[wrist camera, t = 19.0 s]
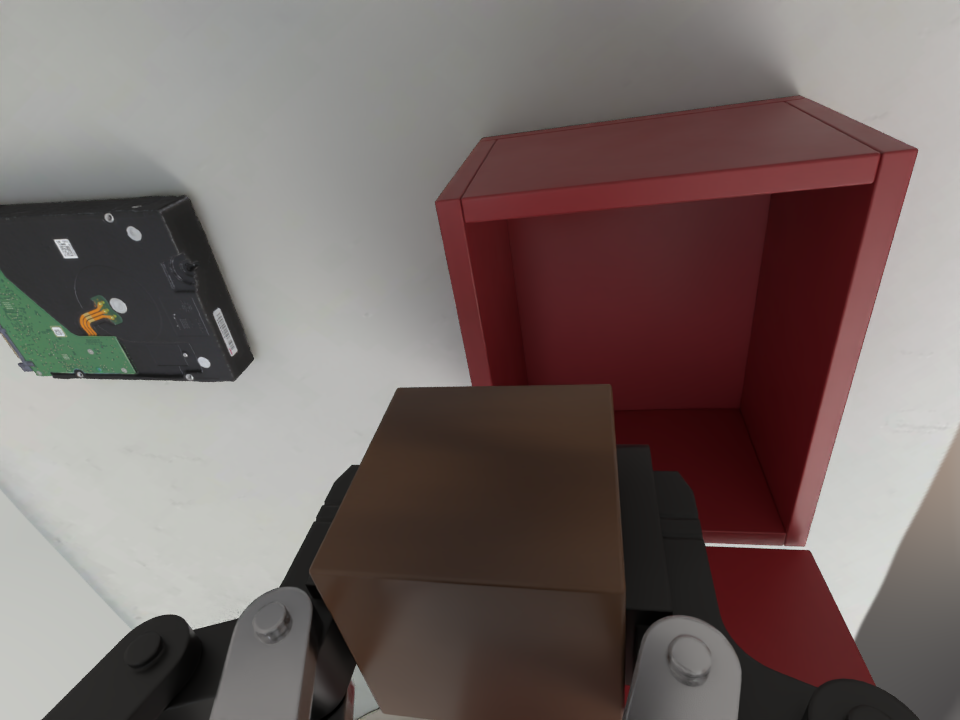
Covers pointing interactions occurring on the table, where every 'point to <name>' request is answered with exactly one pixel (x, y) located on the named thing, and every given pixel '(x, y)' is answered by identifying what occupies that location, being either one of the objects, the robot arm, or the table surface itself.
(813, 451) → the red box
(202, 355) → the disk drive
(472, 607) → the block
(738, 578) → the box lid
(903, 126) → the table surface
